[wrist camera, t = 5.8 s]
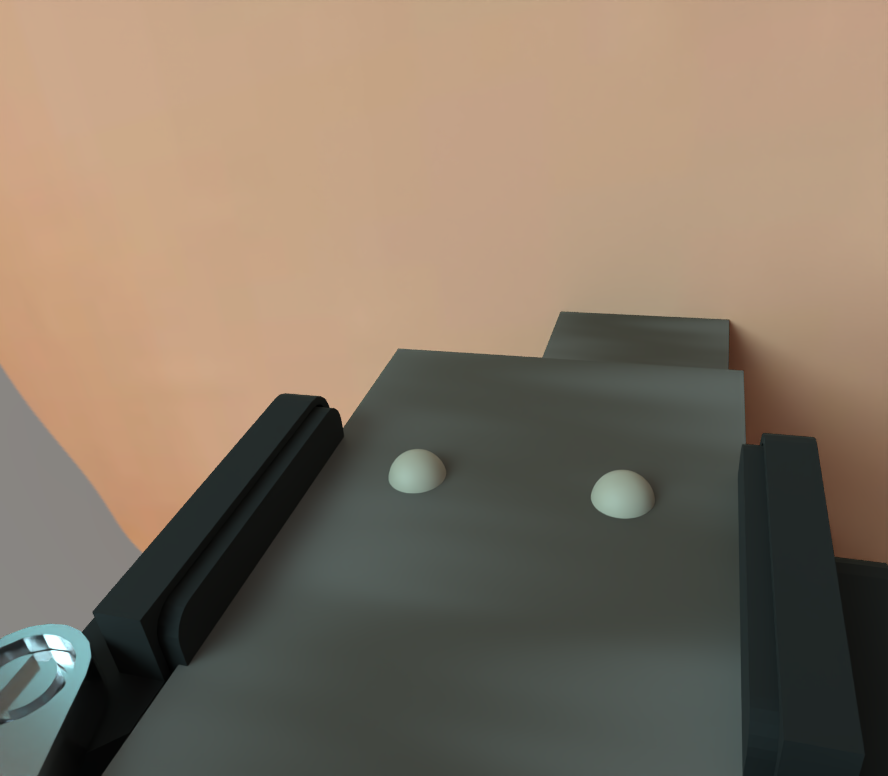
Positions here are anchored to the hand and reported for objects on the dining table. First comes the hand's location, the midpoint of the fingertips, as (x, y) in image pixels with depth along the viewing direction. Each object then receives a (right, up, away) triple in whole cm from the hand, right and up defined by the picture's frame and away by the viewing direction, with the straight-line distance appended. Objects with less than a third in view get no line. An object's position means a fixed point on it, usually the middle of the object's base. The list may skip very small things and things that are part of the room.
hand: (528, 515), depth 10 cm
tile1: (+5, +3, +15) cm, 16 cm away
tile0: (+1, +1, +2) cm, 3 cm away
